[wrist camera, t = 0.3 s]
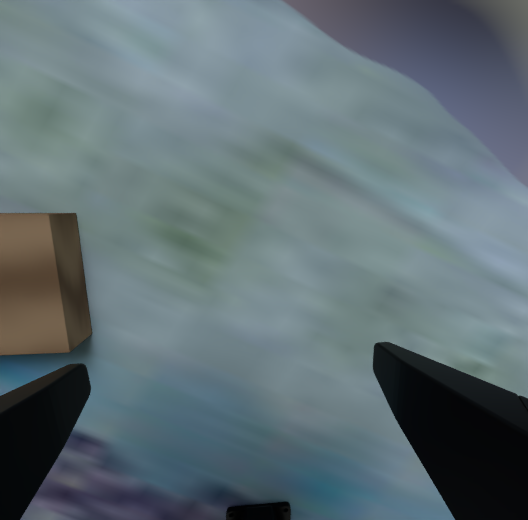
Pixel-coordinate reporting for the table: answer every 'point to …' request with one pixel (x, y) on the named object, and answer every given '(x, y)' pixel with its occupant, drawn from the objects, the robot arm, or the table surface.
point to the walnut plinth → (41, 284)
